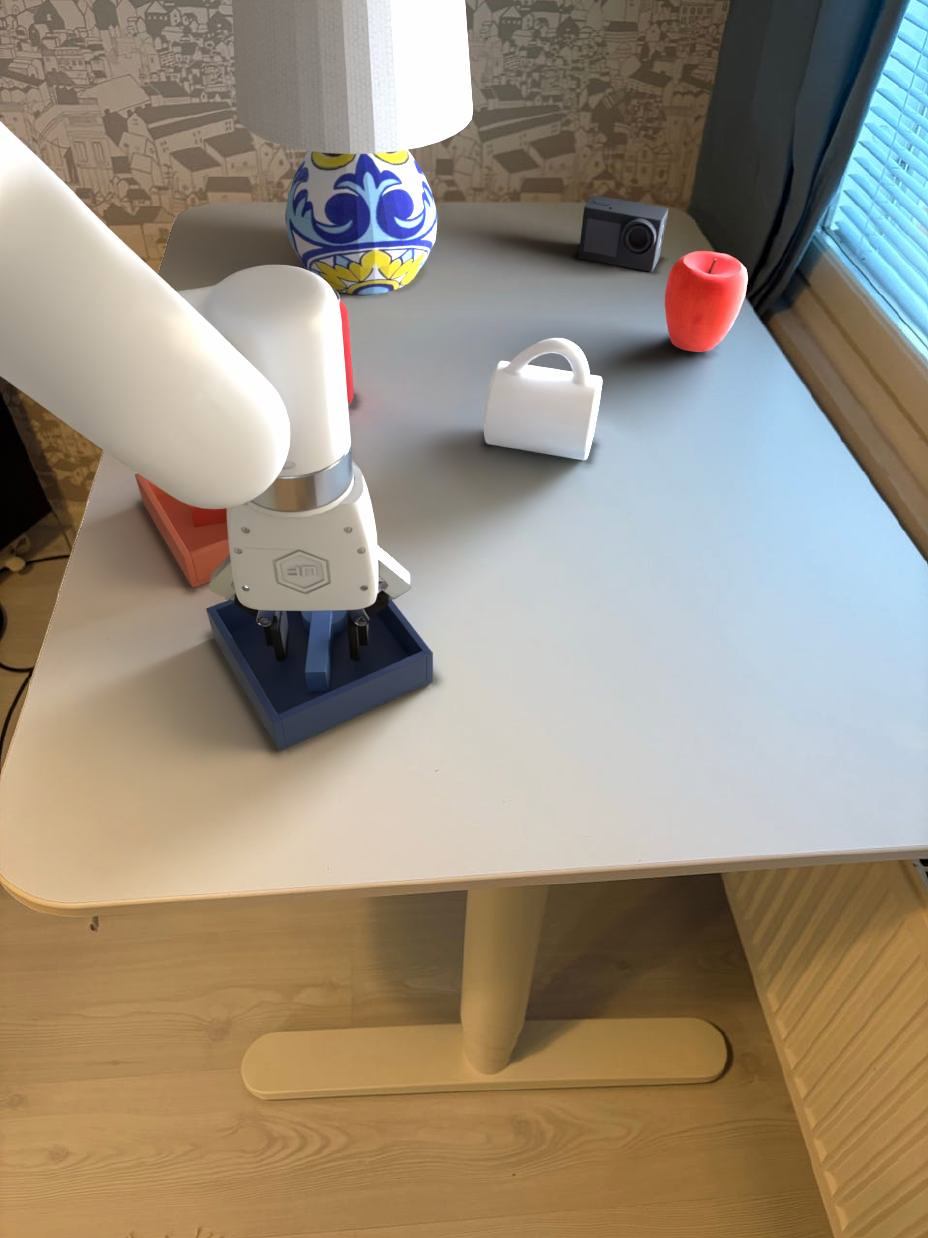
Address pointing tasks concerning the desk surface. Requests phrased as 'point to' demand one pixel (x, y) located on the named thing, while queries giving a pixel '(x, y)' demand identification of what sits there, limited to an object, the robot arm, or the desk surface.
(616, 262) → the digital camera
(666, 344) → the desk surface
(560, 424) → the white handbag
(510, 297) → the desk surface
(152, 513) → the red bin
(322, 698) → the blue bin
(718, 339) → the apple
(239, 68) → the table lamp
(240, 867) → the desk surface
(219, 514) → the red spoon
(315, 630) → the blue spoon
